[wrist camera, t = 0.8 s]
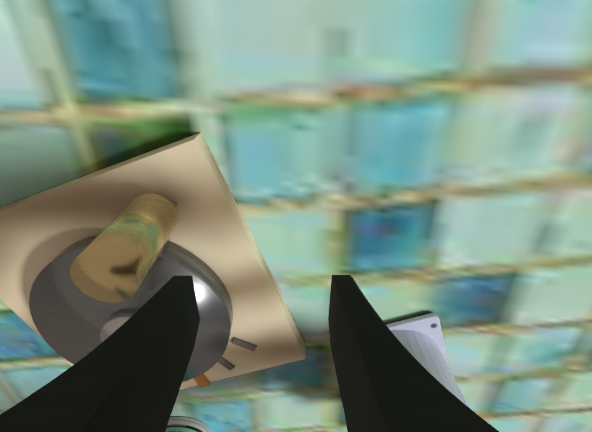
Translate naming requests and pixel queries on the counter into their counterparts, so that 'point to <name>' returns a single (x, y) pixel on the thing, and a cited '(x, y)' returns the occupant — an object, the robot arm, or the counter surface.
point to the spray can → (185, 425)
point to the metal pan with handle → (126, 285)
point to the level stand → (187, 234)
